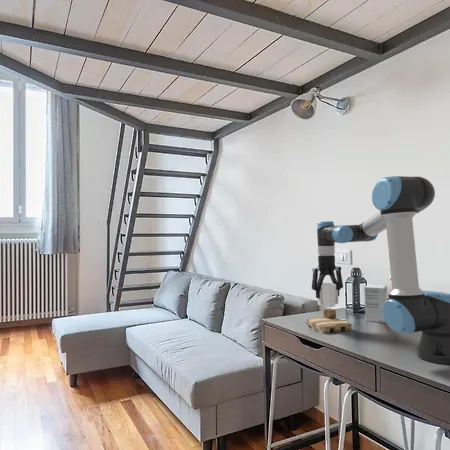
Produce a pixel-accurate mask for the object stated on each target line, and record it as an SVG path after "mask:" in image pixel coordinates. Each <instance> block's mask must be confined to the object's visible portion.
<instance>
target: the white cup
mask: <svg viewBox="0 0 450 450" xmlns="http://www.w3.org/2000/svg"><path fill="white" fill-rule="evenodd" d="M320 291H322V306H321V307H323V308H334V307H336V305H337V304H336V301H335V300H336V284H333V282H323V283H322V285H321V289H320Z"/></svg>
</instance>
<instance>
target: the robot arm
mask: <svg viewBox="0 0 450 450" xmlns="http://www.w3.org/2000/svg"><path fill="white" fill-rule="evenodd" d="M435 195H436V190H435V188H434V185H433V183H431V181H430V180H428V179H427V178H425V177H422V176H401V175H400V176H399V175H393V176H384V177H382V178H380V179H379V180H378V181H377V182H376V184H375V185H374V187H373V189H372V193H371V201H372V204H373V206H374V207H375V209H376V210H378V212H377V213H375V214H373V215H372V216H371V217H369V218H368V219H367V220H365V221H363V222H362V223H360V224H348V225H347V224H346V225H344V224H342V225H341V224H340V225H335V222H334V221H333V220H332V221H331V220H329V221H318V222H317V228H316V234H317V235H316V236H317V254H318V256H317V261H318V266H317V267H313V268H312V280H311V281H312V282H311V290H313V291H315V297H316V299H317V305H318V306H320V307H322V291H320V289H321V285H322V283H324V280H325V278H326V276H329V277H330V280H331V283H333V284H336V300H335V301H336V304H335V305H339V297H340V290H341V289H343V288H344V284H343V276H342V267H341V266H336V264H335V263H336V256H335V254H336V249H335V248H336V247H335V246H336V245H335V244H337V243H338V244H347V243H359V242H367V243H368V242H372V241H375V240H376V239H377V237H378V236H379V234H380V233H382V232H383V231H386V237H387V245H388V246H387V247H388V257H389V258H388V259H389V268H390V269H389V270H390V278H391V289H390V290H389V291H388V292H387V301H385V302H384V305H383V306H382V314H383V318H384V320H385V324H386V325H387V326H388V327H389V329H390V330H392V331H393V332H395V333H396V334H402V335H403V334H412V333H417V332H421V336H420V338H419V343H418V346H417V348H416V355H417V357H418V358H420V359H422V360H424V361H427V362H431V363H436V364H442V365H450V293H448V292H442V291H441V292H440V291H434V290H422V289H421V288H420V284H419V274H418V263H417V254H416V253H417V252H416V242H415V233H414V223H413V218H414V217H415V215H416V214H419V213H420V212H422V211H424V210H425V209H427V208H428V207H430V206H431V204H432V203H433V202H434V199H435V197H436V196H435Z"/></svg>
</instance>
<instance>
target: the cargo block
mask: <svg viewBox="0 0 450 450" xmlns="http://www.w3.org/2000/svg"><path fill="white" fill-rule="evenodd" d="M323 317H324V318H326V319H335V318H337V311H336V309H333V308H326V309H325V308H324V309H323Z"/></svg>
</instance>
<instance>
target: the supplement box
mask: <svg viewBox="0 0 450 450" xmlns="http://www.w3.org/2000/svg"><path fill="white" fill-rule="evenodd" d="M363 290H364V292H363V293H364V314H365V322H371V323H372V322H373V323H383V324H384V323H385V324H386V322H385V320H384V318H383V314H382V306H383V305H384V302H385V301H386V300H388V286H387V285H386V284H371V283H370V284H367V285H366V286H365V287H364V288H363Z"/></svg>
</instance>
